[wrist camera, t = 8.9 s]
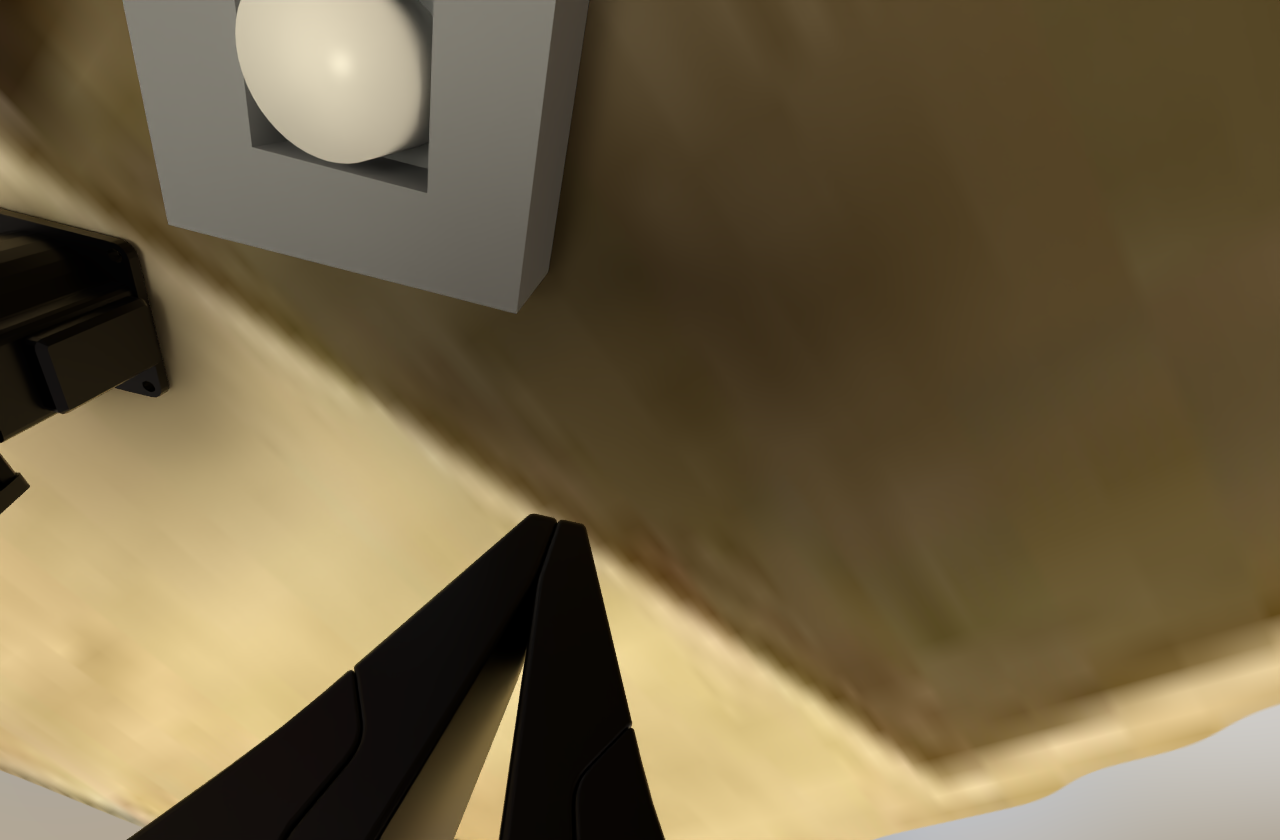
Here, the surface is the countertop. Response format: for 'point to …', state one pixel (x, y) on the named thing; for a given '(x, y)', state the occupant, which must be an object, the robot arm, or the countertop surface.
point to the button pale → (340, 73)
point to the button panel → (384, 186)
